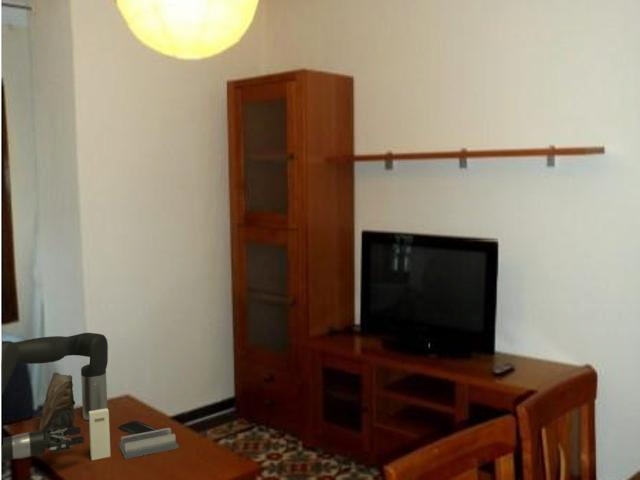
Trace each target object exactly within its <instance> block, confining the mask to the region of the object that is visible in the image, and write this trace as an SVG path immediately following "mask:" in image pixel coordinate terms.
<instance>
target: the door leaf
mask: <svg viewBox="0 0 640 480" xmlns="http://www.w3.org/2000/svg"><path fill="white" fill-rule="evenodd" d="M109 412H110V411H109V409H108V407H107V408H106V409H100V410H94V411H89V420H88V423H89V424H88V425H89V427H88V428H89V430H88V431H89V447H90V448H89V449H90V451H89V452H90V459H91V461H95V460H101V459H103V458H104V459H105V458H111V438H110V437H111V434H110V413H109Z"/></svg>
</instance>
